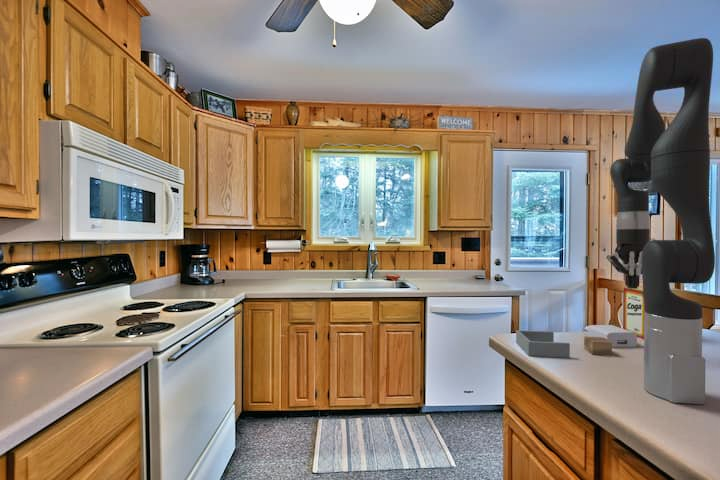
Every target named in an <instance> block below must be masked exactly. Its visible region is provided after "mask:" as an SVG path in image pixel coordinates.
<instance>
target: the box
mask: <svg viewBox="0 0 720 480" xmlns="http://www.w3.org/2000/svg"><path fill="white" fill-rule="evenodd" d="M554 334H555V333H554V331H548V330H547V331H545V330H544V331H543V330H542V331H541V330H524V329H523V330H519V329H518V330H517V329H516V330H515V343H516V344H517V346H519V347H520V349H521V350H522V351H523V352H524V353H525V354H526V355H527V356H528V357H541V358H542V357H543V358H544V357H545V358H562V359H563V358H565V359H570V358H571V350H570V349H571V345H570V344H571V343H569V342H560V341H559V342H557V341H556V342H555V341H554V339H555V338H554V337H555V336H554Z"/></svg>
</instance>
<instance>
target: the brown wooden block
mask: <svg viewBox="0 0 720 480" xmlns="http://www.w3.org/2000/svg"><path fill="white" fill-rule="evenodd" d="M583 350H585V351H586V352H587V351H588V353H589V354H590V353H591V354H590V355H592V356H603V355H609V356H608V357H613V355H612V354H613V347H612V342H610V341H609V340H607V339H605V338H603V337H588V335H587V336H585V335H584V336H583Z"/></svg>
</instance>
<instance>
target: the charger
mask: <svg viewBox="0 0 720 480" xmlns="http://www.w3.org/2000/svg"><path fill="white" fill-rule="evenodd" d="M584 330H585V331H586V332H587V337H603V338H605V339H607V340H609V341H610V342H612V348H636V347H637V346H638V337H637V334H636V333H633V332H631V331H628V330H625V329H623V328H621V327H619V326H616V325H613V324H591V325H587V326H585V328H584Z"/></svg>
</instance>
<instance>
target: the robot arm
mask: <svg viewBox="0 0 720 480" xmlns="http://www.w3.org/2000/svg"><path fill="white" fill-rule="evenodd" d="M713 66H714V46H713V45H712V42H711V40H710V39H709V38H706V37H701V38H700V37H699V38H692V39H689V40H688V39H687V40H682V41H676V42H671V43H665V44H661V45H658V46H657V45H656V46H654V47H652V48H650V49H649V50H648V51H647V52H646V54H645V55H644V57H643V60H642V62H641V65H640V70H639V74H638V79H637V86H636V93H635V100H634V107H633V116H632V123H631V127H630V131H629V134H628V137H627V140H626V144H625V147H624V155H625V156H626V158H625V157H624V158H618V159H616V160H614V162H613V163H612V164H611V165H610V168H609V169H610V170H609V174H610V178H611V180H612V183H613V186H614V189H615V193H616V197H617V215H616V224H615V226H616V227H615V228H616V229H615V230H616V231H615V239H616V240H615V244H616V247H615V248H614V249H615V250H614V252H613V253H611V254H610V255H609V254H608V255H606V259H607V260H608V261H609V263H610V265H612V266H613V267H614V269H615V270H616V272H617V273H621V274H624V284H625V286H626V288H630V289H637V288H639V287H640V276H642V288H643V298H644V311H645V315H644V339H643V388H644V390H645V391H646V392H648V393H650V394H651V395H652V396H656V397H658V398H660V399H664V400H667V401H669V402H670V403H673V404H674V403H675V404H693V405H706V360H707V359H706V358H705V357H703V313H704V312H703V306H702V305H701V304H700V303H699V302H697V301H694V300H691V299H688V298H685V297H681V296H679V295H677V294H676V293H674V292H672V290H671V286H670V284H690V285H691V284H693V285H694V284H695V285H696V284H699V285H701V284H706V283H707V282H709V281H710V280H711V279H712V277H713V274H714V273H715V264H716V254H715V246H714V236H713V228H712V222H711V219H712V218H711V211H710V210H711V209H710V177H711V176H710V173H711V171H710V170H711V153H710V152H711V148H710V147H711V146H710V127H709V124H710V123H709V120H710V115H709V114H710V113H709V111H710V110H709V109H710V97H711V87H712V78H713ZM681 88H683V90H684V93H683V94H684V96H683V100H682V103H681V106H680V108H679V110H678V112H677V113H676V115H675V116H674V118H673V119H672V120H671V122H670V124H669V125H668V126H666V124H665V120H664V118H663V117H662V115H661V113H660V112H659V110H658V109H657V107H656V105H655V102H654V94H655V93H656V92H661V91H666V90H673V89H681ZM650 181H651V183H652V185H653V187H654V188H655V190H656V191H657V192H658V193H659V195H660V196H661V197H662V198H663V199H664V201H665V202H666V203H667V204H668V205H669V207H671V209H672V210H673V212H674V214H675V215H676V216H677V218H678V220H679V224H680V227H681V232H682V239H656V240H655V239H654V240H653V239H652V240H651V218H650V196H649V193H648V192H647V191H646V190H645V191H644V190H638V189H634V188H631V187H630V186H629V185H628V184H633V183H634V184H635V183H647V182H650ZM620 260H621V262H622V263H621V262H620Z"/></svg>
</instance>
